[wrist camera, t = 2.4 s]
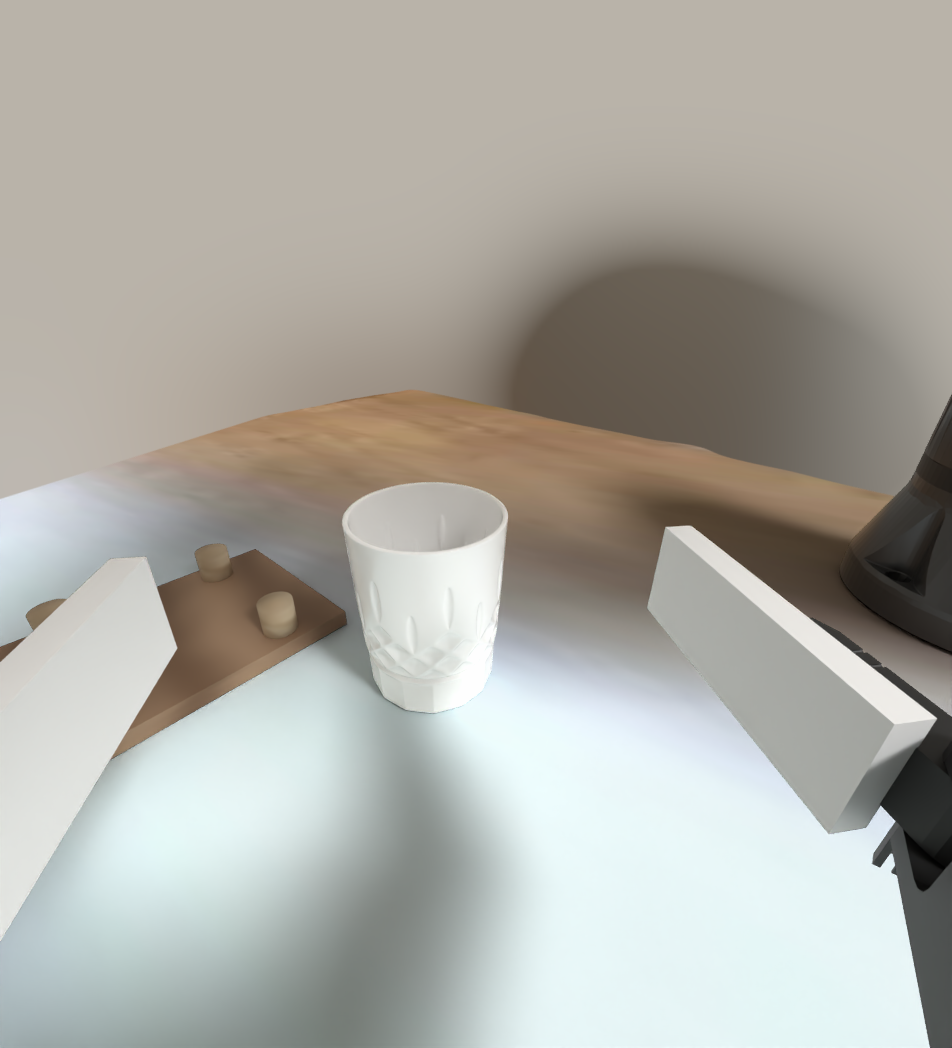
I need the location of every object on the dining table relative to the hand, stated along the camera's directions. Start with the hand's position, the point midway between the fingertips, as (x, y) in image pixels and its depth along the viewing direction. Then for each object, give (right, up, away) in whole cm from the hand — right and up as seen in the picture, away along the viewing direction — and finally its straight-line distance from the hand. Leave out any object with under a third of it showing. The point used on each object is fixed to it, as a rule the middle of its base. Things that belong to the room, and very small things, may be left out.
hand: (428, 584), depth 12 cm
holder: (-17, -6, +16) cm, 24 cm away
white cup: (-1, -7, +15) cm, 16 cm away
